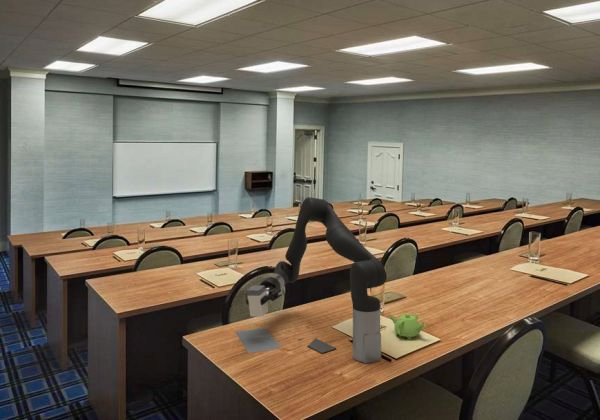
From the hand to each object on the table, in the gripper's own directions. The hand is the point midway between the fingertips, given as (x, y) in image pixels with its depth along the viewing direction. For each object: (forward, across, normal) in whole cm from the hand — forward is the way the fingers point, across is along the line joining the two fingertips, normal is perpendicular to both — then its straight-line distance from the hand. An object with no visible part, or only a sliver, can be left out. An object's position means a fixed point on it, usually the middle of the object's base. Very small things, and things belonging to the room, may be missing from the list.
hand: (254, 302), depth 172 cm
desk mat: (-2, -2, +16) cm, 16 cm away
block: (-3, 0, +6) cm, 6 cm away
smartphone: (-4, +20, +19) cm, 28 cm away
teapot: (-24, +50, +23) cm, 60 cm away
